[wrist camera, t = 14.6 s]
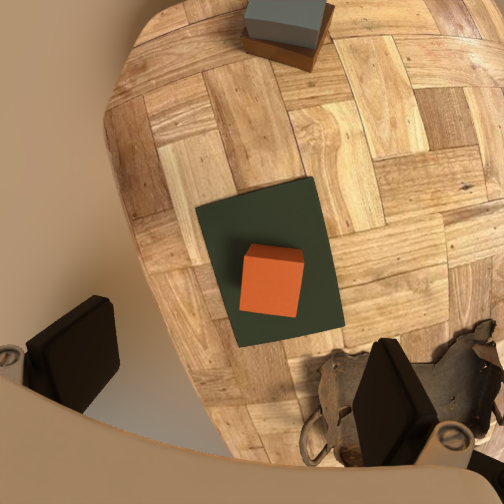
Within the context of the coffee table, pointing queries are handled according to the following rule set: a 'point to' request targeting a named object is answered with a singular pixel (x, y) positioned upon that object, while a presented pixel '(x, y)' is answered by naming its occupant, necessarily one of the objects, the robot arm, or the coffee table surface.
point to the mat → (280, 235)
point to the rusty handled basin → (434, 382)
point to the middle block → (285, 21)
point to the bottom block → (289, 46)
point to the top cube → (271, 280)
